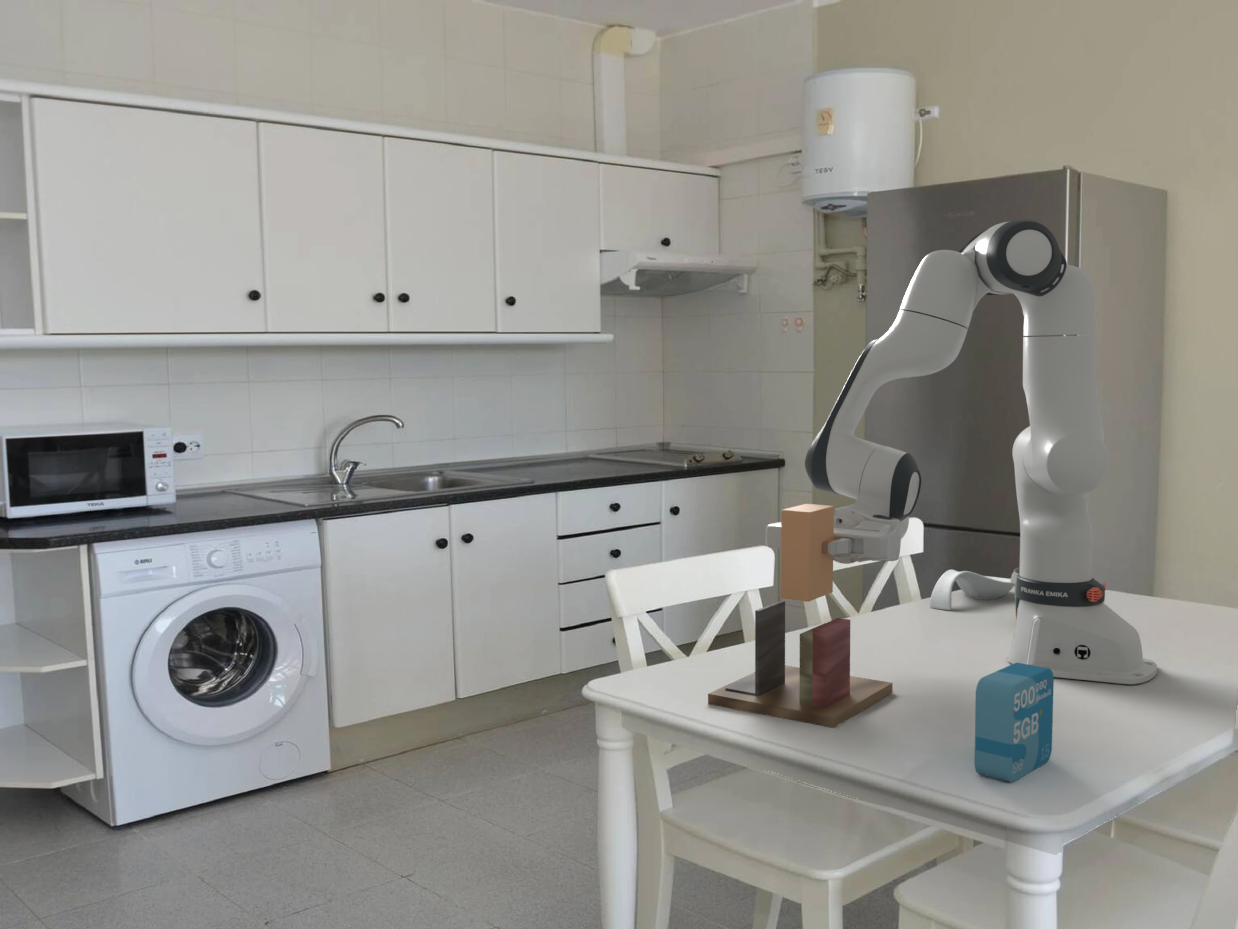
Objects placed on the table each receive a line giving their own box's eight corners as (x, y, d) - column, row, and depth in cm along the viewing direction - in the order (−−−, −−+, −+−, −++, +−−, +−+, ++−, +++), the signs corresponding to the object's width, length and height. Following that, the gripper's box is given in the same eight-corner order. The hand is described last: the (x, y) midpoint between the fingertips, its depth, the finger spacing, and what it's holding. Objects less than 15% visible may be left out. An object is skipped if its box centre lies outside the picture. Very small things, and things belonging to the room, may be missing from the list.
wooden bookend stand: (892, 692, 180) (893, 600, 179) (833, 727, 164) (834, 626, 162) (773, 672, 192) (773, 586, 190) (708, 703, 175) (707, 609, 174)
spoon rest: (972, 589, 256) (973, 555, 256) (1024, 596, 248) (1025, 562, 247) (914, 607, 239) (914, 571, 239) (968, 616, 231) (969, 579, 231)
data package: (1008, 786, 142) (1011, 686, 141) (973, 777, 145) (975, 679, 144) (1052, 760, 150) (1054, 666, 149) (1017, 752, 154) (1020, 659, 152)
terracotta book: (832, 592, 180) (834, 506, 178) (808, 601, 173) (809, 512, 172) (805, 588, 182) (806, 503, 181) (780, 597, 176) (781, 509, 175)
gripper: (788, 509, 194) (746, 519, 183) (909, 520, 182) (872, 531, 171) (788, 547, 195) (746, 560, 183) (908, 561, 183) (871, 575, 172)
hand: (808, 546), depth 177 cm, fingers closed on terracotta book, 4 cm apart
